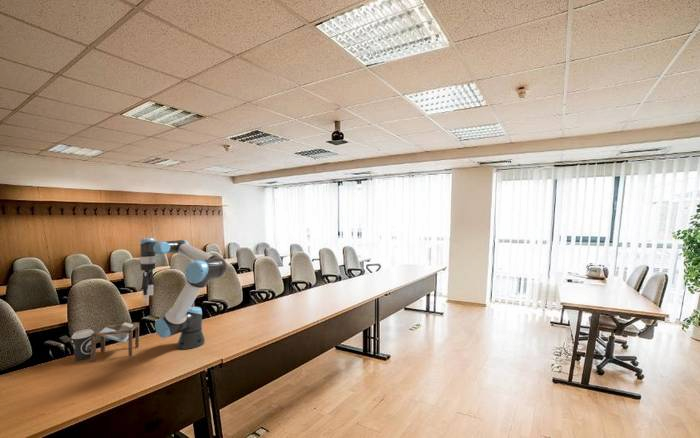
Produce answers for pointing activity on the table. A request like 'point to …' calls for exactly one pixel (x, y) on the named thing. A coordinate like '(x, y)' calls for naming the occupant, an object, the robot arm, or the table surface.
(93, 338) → the hatch frame
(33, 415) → the table surface
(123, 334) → the stone
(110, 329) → the hatch
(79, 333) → the coffee cup
